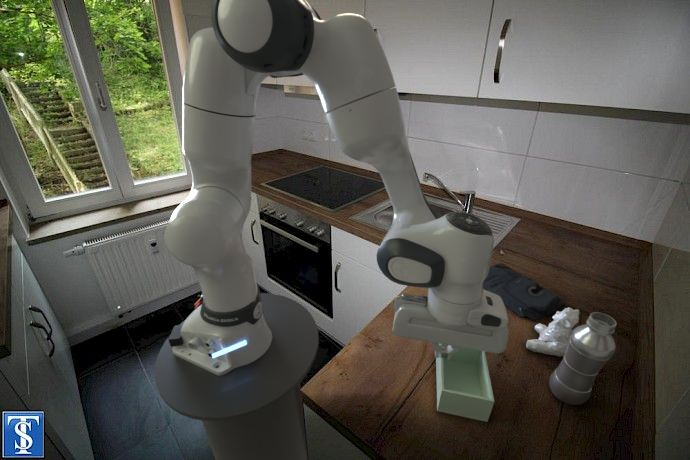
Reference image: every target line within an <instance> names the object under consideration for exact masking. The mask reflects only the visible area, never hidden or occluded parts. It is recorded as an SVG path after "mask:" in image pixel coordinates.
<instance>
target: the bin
mask: <svg viewBox="0 0 690 460" xmlns="http://www.w3.org/2000/svg"><path fill="white" fill-rule="evenodd" d="M439 345H440V346H446V347H447V346H449V345H444V344H439ZM435 370H436V371H435V373H436V378H435V379H436V410H437V411H436V412H440V413H443V414H448V415H453V416H458V417H463V418H467V419H470V420H471V419H472V420H476V421H481V422H484V423H485V422H486V423H488V422H489V418H490V416H491V413H492V410H493V407H494V404H495V402H496V401H495V397H494V391H493V386H492V381H491V377H490V371H489V366H488V361H487V356H486V352H484V351H479V350H473V349H467V348H461V347H459V350H458V351H456V352H455V353H453V354H451V358H450V360H448V359H443V358H437V357H435Z"/></svg>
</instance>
